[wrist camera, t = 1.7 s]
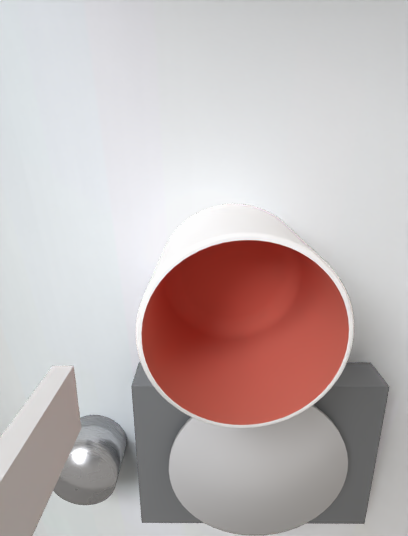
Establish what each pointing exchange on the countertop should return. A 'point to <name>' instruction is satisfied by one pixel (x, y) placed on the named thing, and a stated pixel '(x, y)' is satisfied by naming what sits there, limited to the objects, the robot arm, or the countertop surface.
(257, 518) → the scale
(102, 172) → the countertop surface
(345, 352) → the cup
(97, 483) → the cylinder
